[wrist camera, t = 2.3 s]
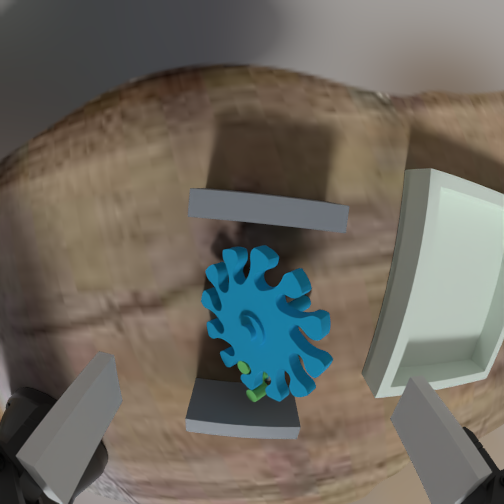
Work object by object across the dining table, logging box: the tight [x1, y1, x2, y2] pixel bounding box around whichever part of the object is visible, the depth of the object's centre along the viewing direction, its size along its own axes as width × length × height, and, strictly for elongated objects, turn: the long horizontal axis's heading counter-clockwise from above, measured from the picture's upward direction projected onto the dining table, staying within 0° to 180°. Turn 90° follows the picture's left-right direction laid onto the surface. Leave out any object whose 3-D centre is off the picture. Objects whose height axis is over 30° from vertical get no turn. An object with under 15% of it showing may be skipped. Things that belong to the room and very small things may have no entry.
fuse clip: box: [186, 188, 349, 439], centre depth 18 cm, size 8×16×5 cm, turn 174°
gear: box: [201, 245, 333, 402], centre depth 18 cm, size 11×6×10 cm
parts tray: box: [362, 168, 504, 398], centre depth 19 cm, size 14×17×4 cm
